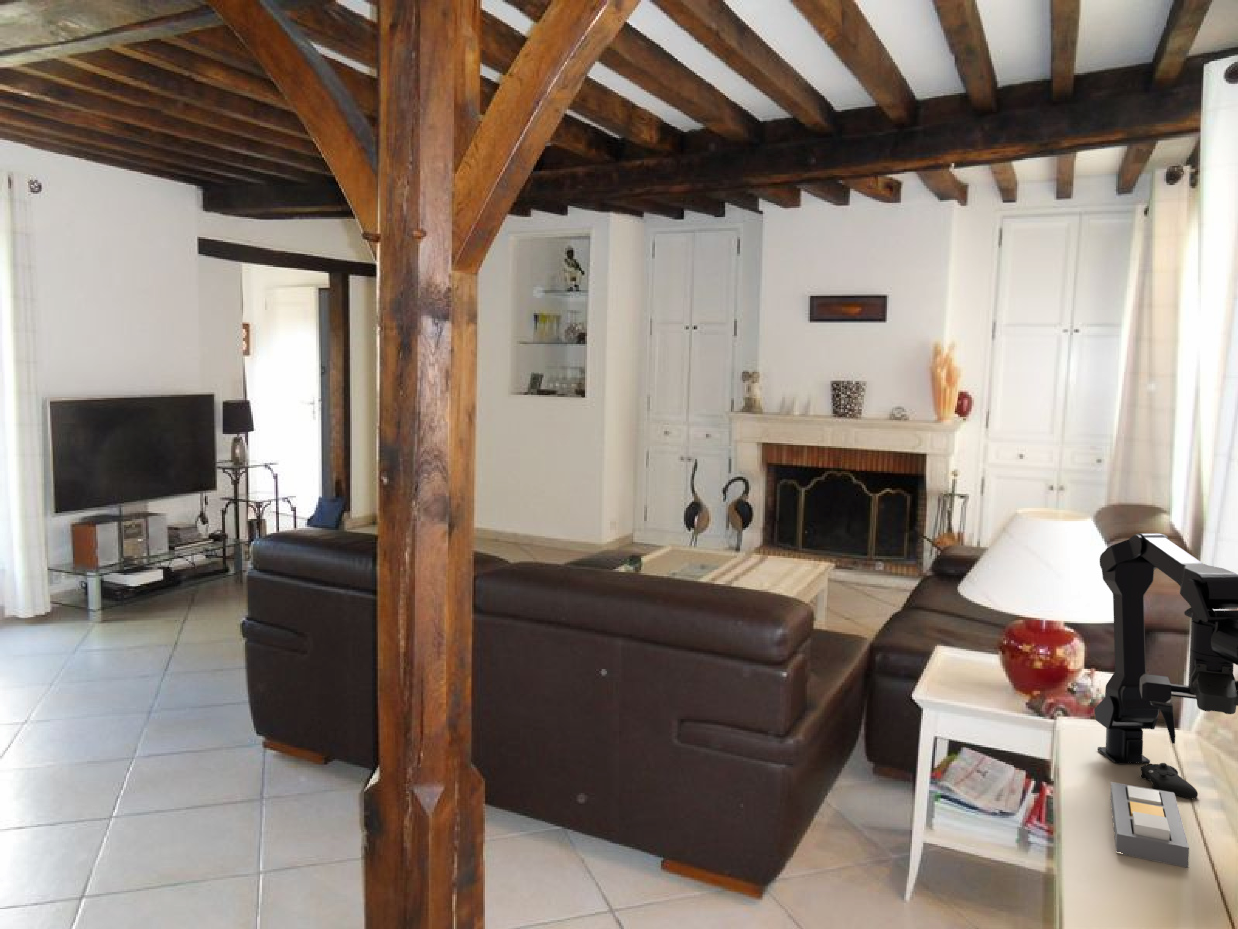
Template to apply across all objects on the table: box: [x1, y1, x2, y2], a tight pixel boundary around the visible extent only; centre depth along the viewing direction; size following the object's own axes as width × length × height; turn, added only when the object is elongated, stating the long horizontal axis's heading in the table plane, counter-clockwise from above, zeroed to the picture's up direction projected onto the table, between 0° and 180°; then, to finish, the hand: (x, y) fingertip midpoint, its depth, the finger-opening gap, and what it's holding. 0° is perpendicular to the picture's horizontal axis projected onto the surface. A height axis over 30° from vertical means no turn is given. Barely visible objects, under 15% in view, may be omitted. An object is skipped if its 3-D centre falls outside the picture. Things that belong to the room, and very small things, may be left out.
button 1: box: [1127, 785, 1161, 805], centre depth 141 cm, size 4×4×2 cm
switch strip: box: [1109, 781, 1190, 868], centre depth 135 cm, size 19×9×3 cm, turn 153°
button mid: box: [1129, 801, 1165, 817], centre depth 135 cm, size 4×4×2 cm
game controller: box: [1139, 762, 1199, 800], centre depth 151 cm, size 10×5×6 cm
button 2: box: [1132, 811, 1170, 841], centre depth 130 cm, size 4×4×2 cm
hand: (1207, 747), depth 137 cm, fingers open, 9 cm apart
